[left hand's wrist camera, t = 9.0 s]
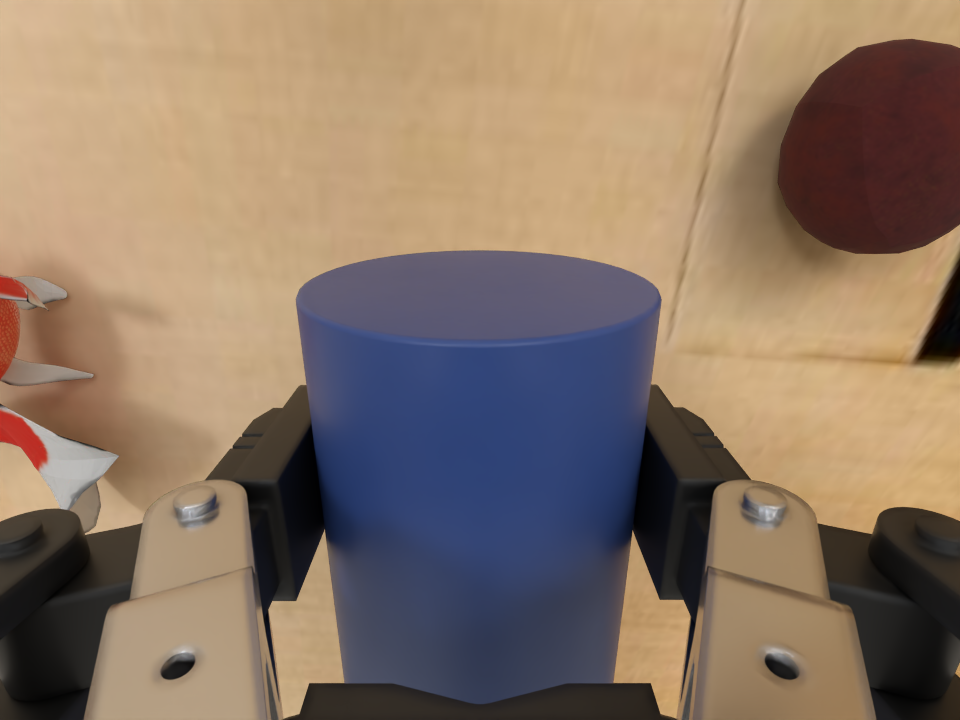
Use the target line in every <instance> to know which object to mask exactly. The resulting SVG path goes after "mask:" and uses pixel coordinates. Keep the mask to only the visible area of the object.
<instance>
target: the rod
mask: <svg viewBox="0 0 960 720" xmlns="http://www.w3.org/2000/svg"><path fill="white" fill-rule="evenodd" d="M661 300H662V299H661V296H660V294H659V291H658V289H657V288H656V287H655V286H654V285H653V284H652V283H651V282H649V281H648V280H646V279H645V278H643V277H641V276H639V275H637V274H635V273H632V272H629V271H627V270H624V269H621V268H618V267H615V266H612V265H608V264H604V263H600V262H596V261H591V260H585V259H580V258H574V257H567V256H560V255H552V254H542V253H531V252H515V251H443V252H427V253H416V254H406V255H398V256H390V257H384V258H377V259H372V260H367V261H362V262H358V263H354V264H350V265H346V266H343V267H339V268H336V269H333V270H331V271H328V272H325V273H323V274H321V275H319V276H317V277H315V278H313V279H311V280H310V281H308V282H307V283H305V284H304V285H303V286H302V287H301V288H300V290H299V292H298V295H297V297H296V306H297V314H298V321H299V329H300V337H301V345H302V353H303V361H304V368H305V376H306V384H307V392H308V400H309V408H310V415H311V423H312V431H313V439H314V447H315V455H316V462H317V470H318V478H319V486H320V494H321V502H322V509H323V517H324V525H325V533H326V541H327V549H328V557H329V564H330V572H331V580H332V588H333V596H334V604H335V611H336V619H337V627H338V635H339V643H340V651H341V658H342V666H343V674H344V682H345V683H394V684H398V685H402V686H406V687H410V688H413V689H417V690H421V691H425V692H429V693H433V694H437V695H441V696H445V697H449V698H453V699H457V700H460V701H464V702H468V703H473V704H487V703H492V702H496V701H500V700H503V699H507V698H511V697H515V696H519V695H523V694H527V693H531V692H535V691H539V690H543V689H547V688H550V687H554V686H558V685H562V684H566V683H613V680H614V672H615V664H616V656H617V649H618V641H619V633H620V625H621V617H622V609H623V601H624V593H625V585H626V577H627V569H628V561H629V553H630V546H631V538H632V530H633V522H634V514H635V506H636V498H637V490H638V482H639V474H640V466H641V458H642V451H643V443H644V435H645V427H646V419H647V411H648V403H649V395H650V387H651V379H652V371H653V363H654V355H655V348H656V340H657V332H658V324H659V316H660V308H661Z"/></svg>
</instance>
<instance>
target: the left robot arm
mask: <svg viewBox="0 0 960 720" xmlns="http://www.w3.org/2000/svg"><path fill="white" fill-rule="evenodd" d="M324 529H325V525H324V517H323V509H322V502H321V494H320V486H319V478H318V470H317V462H316V455H315V447H314V439H313V431H312V423H311V415H310V408H309V400H308V392H307V385H300V386H299V387H298V388H297V389H296V391H295V392H294V393H293V395H292V396H291V398H290V399H289V400H288V402H287V403H286V404H285V406H284V407H283V408H273V409H271V410H269V411H268V412H266V413H264V414H263V415H261V416H259V417H258V418H256V419H254V420H253V421H252V423H251V424H250V425H249V426H248V428H247V429H246V430H245V431H244V432H243V434H242V437H239V439H238V440H237V441H236V442H235V444H234V445H233V449H230V450H229V451H228V452H227V454H226V455H225V456H224V457H223V458H222V460H221V461H220V462H219V463H218V465H217V466H216V467H215V468H214V470H213V471H212V472H211V473H210V475H209V476H208V477H207V478H206V480H205V481H200V482H195V483H191V484H188V485H185V486H182V487H179V488H177V489H175V490H173V491H171V492H169V493H167V494H165V495H164V496H162V497H161V498H159V499H158V500H157V501H155V502H154V503H153V504H152V505H151V506H150V507H149V508H148V510H147V511H146V513H145V515H144V518H143V523H141V524H138V525H133V526H129V527H124V528H119V529H114V530H108V531H103V532H98V533H93V534H88V535H85V533H84V530H83V527H82V524H81V521H80V518H79V516H78V515H77V514H76V513H74V512H72V511H70V510H65V509H44V510H37V511H32V512H28V513H24V514H21V515H17V516H14V517H11V518H9V519H6V520H3V521H1V522H0V720H960V678H959V677H958V676H957V675H956V674H955V672H956V670H957V667H958V665H959V663H960V521H958V520H956V519H953V518H951V517H948V516H945V515H942V514H939V513H936V512H932V511H928V510H924V509H918V508H910V507H895V508H890V509H887V510H884V511H883V512H881V513H880V514H879V516H878V518H877V521H876V524H875V528H874V531H873V534H868V533H863V532H858V531H852V530H847V529H842V528H837V527H832V526H827V525H822V524H818V523H817V518H816V515H815V513H814V511H813V510H812V508H811V507H810V506H809V505H808V504H807V503H806V502H805V501H803V500H802V499H801V498H799V497H798V496H796V495H795V494H793V493H791V492H789V491H787V490H785V489H783V488H781V487H778V486H775V485H772V484H769V483H765V482H760V481H754V480H751V479H750V478H749V476H748V475H747V474H746V473H745V471H744V470H743V469H742V468H741V466H740V465H739V464H738V463H737V461H736V460H735V459H734V458H733V456H732V455H731V454H730V453H729V451H728V450H727V449H726V448H724V447H723V444H722V443H721V441H720V440H719V439H718V438H717V436H714V433H713V431H712V430H711V429H710V428H709V426H708V425H707V424H706V422H705V421H704V420H703V419H702V418H700V417H698V416H697V415H695V414H693V413H692V412H690V411H688V410H687V409H685V408H683V407H673V406H672V404H671V403H670V402H669V400H668V399H667V397H666V396H665V395H664V393H663V392H662V390H661V389H660V388H659V386H658V385H651V387H650V395H649V403H648V411H647V419H646V427H645V435H644V443H643V451H642V458H641V466H640V474H639V482H638V490H637V498H636V506H635V514H634V522H633V532H634V534H635V537H636V540H637V542H638V545H639V547H640V550H641V552H642V555H643V558H644V560H645V563H646V565H647V568H648V570H649V573H650V575H651V578H652V581H653V583H654V586H655V588H656V591H657V593H658V596H659V599H660V600H684V602H685V604H686V606H687V609H688V611H689V613H690V615H691V617H690V622H689V627H688V634H687V642H686V650H685V657H684V665H683V673H682V680H681V688H680V696H679V703H678V711H677V719H675V718H672V717H669V716H665V715H662V714H660V712H659V708H658V705H657V702H656V699H655V696H654V692H653V689H652V686H651V683H566V684H562V685H558V686H554V687H550V688H547V689H543V690H539V691H535V692H531V693H527V694H523V695H519V696H515V697H511V698H507V699H503V700H500V701H496V702H492V703H487V704H473V703H468V702H464V701H460V700H457V699H453V698H449V697H445V696H441V695H437V694H433V693H429V692H425V691H421V690H417V689H413V688H410V687H406V686H402V685H398V684H394V683H309V686H308V689H307V692H306V696H305V699H304V702H303V705H302V708H301V712H300V714H298V715H295V716H291V717H288V718H285V719H283V711H282V703H281V696H280V688H279V680H278V673H277V665H276V657H275V650H274V642H273V634H272V627H271V622H270V617H269V611H268V609H269V607H270V605H271V602H272V601H296V600H297V597H298V595H299V592H300V590H301V587H302V585H303V582H304V580H305V577H306V575H307V572H308V570H309V567H310V565H311V562H312V560H313V557H314V555H315V552H316V550H317V547H318V545H319V542H320V540H321V537H322V534H323V532H324Z"/></svg>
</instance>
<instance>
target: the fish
mask: <svg viewBox="0 0 960 720" xmlns="http://www.w3.org/2000/svg"><path fill="white" fill-rule="evenodd" d="M66 297H67V292H66V291H65V290H64V289H62V288H61V287H59V286H57V285H54V284H52V283H50V282H48V281H46V280H43V279H40V278H37V277H33V276H22V277H15V278H11V277H6V276H1V275H0V380H1V381H2V382H5V383H7V384H9V385H16V386H28V385H37V384H43V383H50V382H57V381H65V380H75V379H86V378H92V377H93V375H94V374H91V373H86V372H82V371H78V370H74V369H70V368H66V367H61V366H56V365H48V364H39V363H31V362H25V361H22V360H19V359H17V358H15V357H14V356H15V353H16V350H17V347H18V342H19V335H20V313H19V309H18V308H21V309H26V310H30V309H33V308H36V307H41V308H45V309H46V310H48V309H47V308H46V307H45V305H44V304H45V303H48V302H52V301H56V300H61V299H65V298H66ZM48 311H49V310H48ZM0 442H6V443H9V444H13V445H16V446H19V447H21V448H22V449H23V451H24V452H25V453H26V455H27V456H28V458H29V459H30V460H31V462H32V463H33V465H34V467H35V468H36V469H37V470H38V471H39V473H40V474H41V476H42V477H43V479H44V480H45V482H46V483H47V484H48V486H49V487H50V489H51V490H52V492H53V494H54V496H55V498H56V500H57V502H58V504H59V506H60V509H65V510H70V511H72V512H74V513H76V514H77V515H78V516H79V518H80V521H81V524H82V527H83V530H84V533H86V532H89V531H90V530H91V529H93V528H94V527H95V526H96V523H97V519H98V515H99V511H100V508H101V503H100V496H99V491H98V487H97V483H96V481H97V480H99V479H100V478H101V477H102V476H103V474H104V473H105V472H106V471H107V470H108V468H109V467H110V466H111V465H112V464H113V463H114V461H115V460H116V459H117V458H118V457H119V455H116V454H113V453H111V452H108V451H105V450H103V449H100V448H98V447H95V446H91V445H88V444H85V443H81V442H78V441H75V440H71V439H68V438H65V437H61V436H59V435H57V434H55V433H53V432H51V431H49V430H47V429H45V428H43V427H41V426H40V425H38V424H36V423H34V422H32V421H30V420H28V419H27V418H25V417H23V416H21V415H19V414H17V413H16V412H14V411H12V410H10V409H8V408H7V407H5V406H3V405H1V404H0Z"/></svg>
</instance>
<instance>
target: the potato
mask: <svg viewBox="0 0 960 720" xmlns="http://www.w3.org/2000/svg"><path fill="white" fill-rule="evenodd" d="M778 184H779V187H780V190H781V192H782V195H783V198H784V201H785V203H786V206H787V207H788V209H789V210H790V212H791V213H792V214H793V216H794V217H795V218H796V220H797V221H798V222H799V224H800V225H801V227H802V228H803V229H804V230H805V231H807V232H808V233H809V234H811V235H812V236H814V237H815V238H817V239H818V240H819V241H821V242H823V243H825V244H827V245H829V246H831V247H833V248H836V249H840V250H844V251H848V252H852V253H855V254H892V253H902V252H906V251H909V250H913V249H916V248H920V247H923V246H926V245H927V244H929V243H931V242H933V241H935V240H936V239H938V238H940V237H942V236H943V235H945V234H947V233H949V232H950V231H951V230H953V229H954V228H955V227H957V226H958V225H959V224H960V48H958V47H955V46H953V45H948V44H942V43H935V42H929V41H922V40H915V39H904V40H892V41H887V42H882V43H878V44H873V45H868V46H863V47H858V48H856V49H855V50H853V51H852V52H850V53H849V54H847V55H846V56H844V57H843V58H842V59H840V60H839V61H837V62H836V63H835V64H833V65H832V66H831V67H829V68H828V69H826V70H825V71H824V72H822V73H821V74H820V75H819V76H818V77H817V78H816V80H815V81H814V83H813V84H812V85H811V87H810V88H809V90H808V91H807V92H806V94H805V95H804V96H803V98H802V99H801V101H800V102H799V103H798V105H797V106H796V108H795V111H794V113H793V116H792V118H791V121H790V124H789V126H788V129H787V131H786V134H785V136H784V139H783V142H782V144H781V151H780V162H779V174H778Z"/></svg>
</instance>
